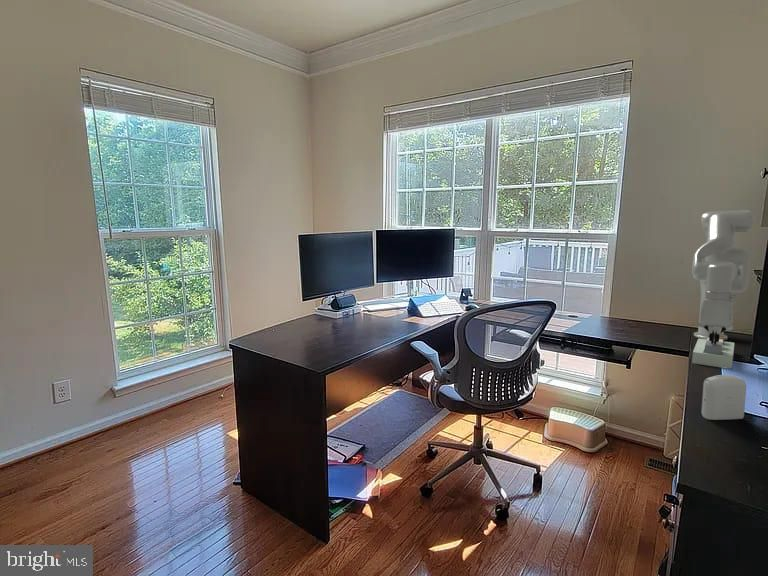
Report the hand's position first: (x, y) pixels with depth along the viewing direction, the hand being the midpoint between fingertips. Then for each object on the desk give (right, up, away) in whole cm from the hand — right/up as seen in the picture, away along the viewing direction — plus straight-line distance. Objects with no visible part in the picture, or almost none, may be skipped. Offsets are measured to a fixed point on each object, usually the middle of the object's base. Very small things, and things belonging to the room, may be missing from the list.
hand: (713, 343), depth 162 cm
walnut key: (+11, -2, +13) cm, 17 cm away
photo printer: (-32, -16, -43) cm, 56 cm away
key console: (+6, -7, +7) cm, 11 cm away
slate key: (0, -4, +1) cm, 5 cm away
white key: (+5, -3, +7) cm, 9 cm away
